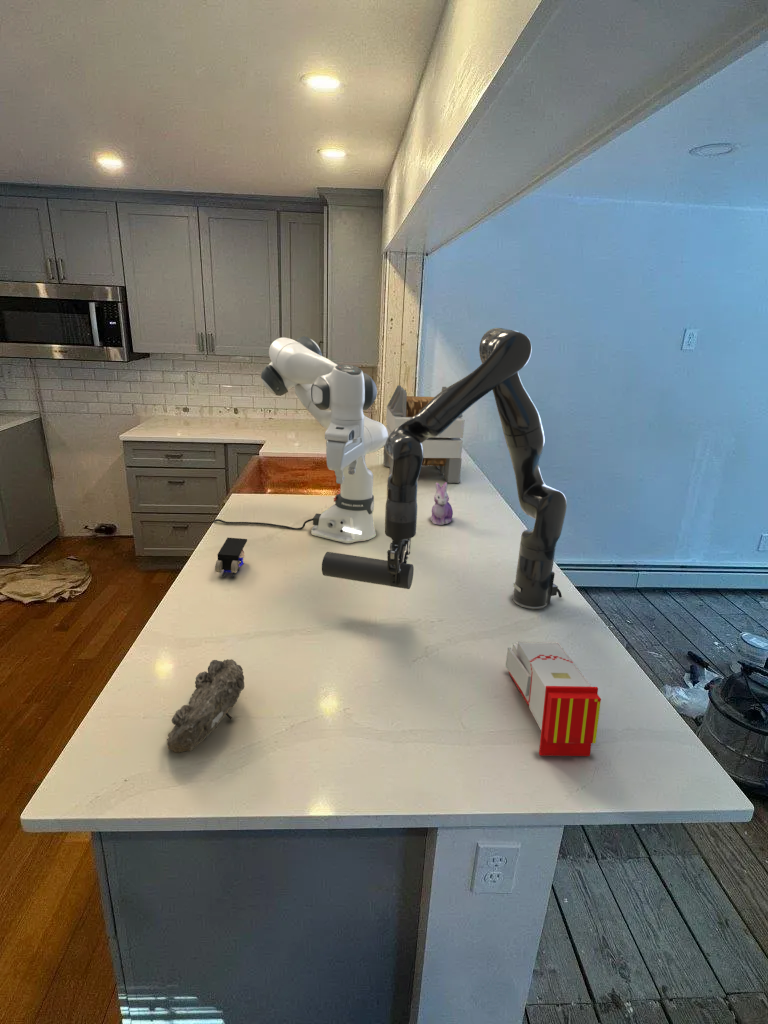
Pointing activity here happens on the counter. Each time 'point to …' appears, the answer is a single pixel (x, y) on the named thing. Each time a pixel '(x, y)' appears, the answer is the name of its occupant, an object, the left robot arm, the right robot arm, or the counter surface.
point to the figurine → (441, 506)
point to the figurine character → (230, 556)
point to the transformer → (435, 450)
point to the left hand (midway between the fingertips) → (346, 478)
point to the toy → (556, 697)
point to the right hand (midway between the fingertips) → (398, 579)
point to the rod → (364, 569)
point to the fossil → (206, 705)
